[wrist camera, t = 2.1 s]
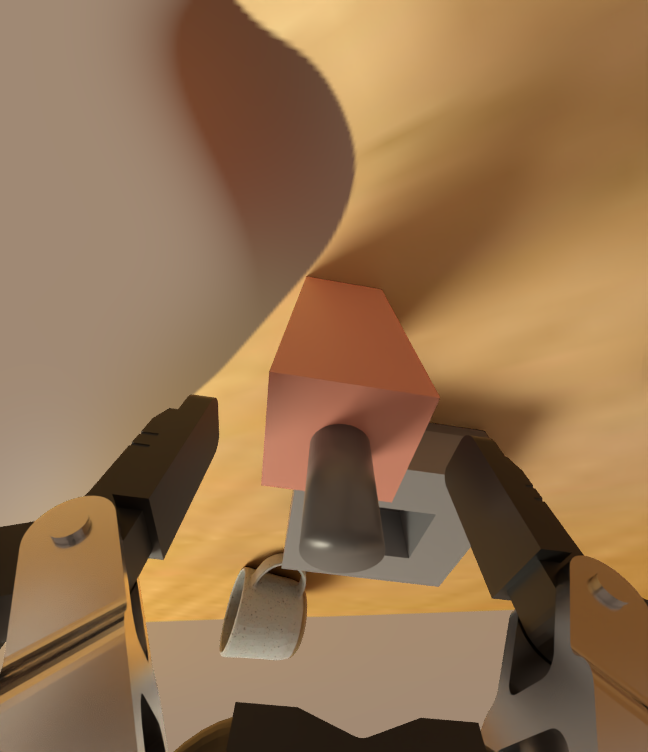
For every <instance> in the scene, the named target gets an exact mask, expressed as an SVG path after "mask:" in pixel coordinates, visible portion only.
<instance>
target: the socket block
mask: <svg viewBox="0 0 648 752" xmlns="http://www.w3.org/2000/svg"><path fill="white" fill-rule="evenodd" d="M466 435H470V436H477V437H484V438H489V437H488V435H487V434H486V432H485V431H481V430H474V429H467V428H461V427H454V426H447V425H441V424H434V423H428V425H427V428H426V430H425V432H424V434H423V436H422V438H421V441H420V443H419V445H418V447H417V449H416V451H415V454H414V456H413V458H412V460H411V462H410V464H409V466H408V469H407V471H406V473H405V475H404V477H403V479H402V482H401V484H400V486H399V488H398V490H397V492H396V495H395V497H394V499H393V501H392V503H391V502H384V501H378V503H379V510H380V516H381V523H382V530H383V537H384V544H385V555H384V558H383V559H382V560H381V561H380V562H379V563H378V564H377V565H375V566H374V567H372V568H370V569H367V570H364V571H360V572H355V573H332V572H327V571H323V570H320V569H317V568H315V567H313V566H311V565H309V564H308V563H306V562H305V561H304V560H303V559H302V557H301V556H300V553H299V544H300V534H301V525H302V515H303V506H304V496H305V491H301V490H293V495H292V501H291V507H290V513H289V520H288V527H287V534H286V540H285V547H284V554H283V561H282V569H290V570H299V571H307V572H316V573H325V574H333V575H342V576H351V577H359V578H368V579H376V580H385V581H394V582H402V583H411V584H419V585H428V586H437V587H439V586H440V584H441V583H442V582H443V581H444V579H445V578H446V577H447V576H448V574H449V573H450V572H451V571H452V569H453V568H454V567H455V566H456V565H457V563H458V562H459V561H460V560H461V558H462V557H463V556H464V555H465V553H466V552H467V551H468V550H469V548H470V547H471V546H470V543H469V541H468V538H467V536H466V534H465V531H464V529H463V526H462V524H461V521H460V519H459V516H458V514H457V512H456V509H455V507H454V504H453V502H452V499H451V497H450V495H449V492H448V490H447V487H446V484H445V470H446V467H447V465H448V463H449V461H450V459H451V457H452V456H453V454H454V452H455V450H456V448H457V446H458V445H459V443H460V441H461V439H462V438H463V437H464V436H466Z"/></svg>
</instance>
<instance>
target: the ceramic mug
mask: <svg viewBox="0 0 648 752" xmlns="http://www.w3.org/2000/svg"><path fill="white" fill-rule="evenodd" d="M283 554H284V553H279V554H275V555H272V556H270V557H268V558H267V559H265V560H264V561H263V562H262V563H261V564H260V566H259V567H258V568H257V569H252V568H249V567H244V568H243V569H242V570H241V571H240V573H239V575H238V577H237V579H236V582H235V584H234V587H233V589H232V592H231V595H230V599H229V603H228V606H227V610H226V614H225V618H224V623H223V628H222V633H221V638H220V648H219V649H220V654H221V655H222V656H224V657H242V658H257V659H269V660H282V659H287V658H291V657H292V656H293V655H294V654H295V653H296V651H297V650H298V648H299V646H300V644H301V641H302V637H303V634H304V630H305V625H306V617H307V598H306V592H305V586H306V572H305V571H299V570H298V571H299V573H300V574H301V579H300V582H296V581H294V580H292V579H289V578H286V577H281V576H277V575H273V574H270V573H267V572H268V571H269V570H271V569H272V568H275V567H277V566H281V565H282V561H283Z"/></svg>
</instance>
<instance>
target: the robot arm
mask: <svg viewBox="0 0 648 752" xmlns="http://www.w3.org/2000/svg"><path fill="white" fill-rule="evenodd" d="M218 440H219V420H218V401H217V399H216V398H213V397H206V396H199V395H189V396H188V397H187V399H186V400H185V401H184V402H183V404H182V405H181V406H180V408H179V409H171V408H169V409H167V410H166V411H164V412H162V413H161V414H159V415H157V416H156V417H154V418H153V419H152V420H151V421H150V422H149V423H148V424H147V425H146V427H145V428H144V429H143V430H142V432H141V434H139V435H138V436H137V437H136V438H135V439H134V440H133V442H132V444H131V445H130V446H128V447H127V449H126V450H125V451H124V452H123V453H122V454H121V455H120V457H119V458H118V459H117V460H116V461H115V462H114V463H113V465H112V466H111V467H110V468H109V469H108V470H107V471H106V473H105V474H104V475H103V476H102V477H101V479H100V480H99V481H98V482H97V483H96V484H95V485H94V486H93V488H92V489H91V490H90V491H89V492H88V493H87V494H86V495H85V496H83V497H78V498H75V499H71V500H68V501H66V502H63V503H61V504H59V505H57V506H55V507H54V508H52V509H50V510H49V511H47V512H46V513H44V514H43V515H42V516H40V517H39V518H38V519H37V520H36V521H34V522H29V523H22V524H16V525H10V526H4V527H0V649H1V647H2V646H3V644H4V643H5V642H6V648H5V654H4V662H3V666H2V669H1V672H0V752H169V751H168V745H167V739H166V733H165V727H164V720H163V714H162V708H161V702H160V697H159V692H158V687H157V683H156V679H155V675H154V670H153V665H152V660H151V654H150V647H149V641H148V634H147V629H146V622H145V615H144V609H143V602H142V596H141V590H140V583H139V578H138V576H139V574H140V573H141V571H142V569H143V567H144V565H145V563H146V561H147V559H148V558H151V559H160V560H164V558H165V556H166V553H167V551H168V549H169V547H170V545H171V543H172V541H173V539H174V537H175V535H176V533H177V531H178V529H179V527H180V525H181V523H182V521H183V518H184V516H185V514H186V512H187V510H188V508H189V506H190V504H191V502H192V500H193V498H194V496H195V494H196V492H197V490H198V488H199V486H200V483H201V481H202V479H203V477H204V475H205V473H206V471H207V469H208V467H209V465H210V463H211V461H212V459H213V457H214V455H215V452H216V449H217V446H218ZM445 484H446V487H447V490H448V492H449V495H450V497H451V499H452V502H453V504H454V507H455V509H456V512H457V514H458V516H459V519H460V521H461V524H462V526H463V529H464V531H465V534H466V536H467V538H468V541H469V543H470V546H471V548H472V551H473V553H474V555H475V558H476V560H477V563H478V565H479V568H480V570H481V573H482V575H483V577H484V580H485V582H486V585H487V587H488V590H489V592H490V594H491V597H492V598H494V599H503V600H511V601H512V603H513V605H514V608H515V610H514V611H513V612H512V613H511V615H510V618H509V624H508V630H507V637H506V643H505V649H504V655H503V662H502V668H501V675H500V680H499V687H498V692H497V696H496V698H495V701H494V703H493V706H492V707H491V709H490V710H489V712H488V714H487V716H486V718H485V720H484V723H483V726H482V729H481V731H480V727H479V724H478V723H475V722H463V721H451V720H439V719H428V718H427V719H426V718H419V719H417V720H414V721H411V722H408V723H406V724H403V725H401V726H398V727H395V728H392V729H389V730H387V731H384V732H382V733H379V734H376V735H373V736H371V737H368V738H358V737H355V736H353V735H351V734H349V733H347V732H345V731H343V730H341V729H339V728H337V727H335V726H333V725H331V724H329V723H327V722H325V721H323V720H321V719H319V718H317V717H315V716H314V715H311V714H310V713H308V712H306V711H304V710H302V709H300V708H298V707H287V706H276V705H264V704H251V703H240V702H236V703H235V708H234V713H233V717H231V718H228V719H225V720H222V721H219V722H217V723H215V724H213V725H211V726H209V727H207V728H205V729H203V730H202V731H200V732H199V733H197V734H196V735H194V736H193V737H192V738H190V739H189V740H187V741H186V742H184V743H183V744H182V745H181V746H180V747H179V748H178V749H176V750H175V751H174V752H648V600H646V599H644V598H642V597H641V596H640V594H639V593H638V592H637V591H636V590H635V588H634V587H633V586H632V585H631V584H630V583H629V582H628V581H627V580H626V579H625V578H623V577H622V576H621V575H620V574H619V573H617V572H616V571H615V570H613V569H612V568H611V567H609V566H607V565H606V564H604V563H602V562H600V561H599V560H596V559H594V558H591V557H588V556H584V555H583V554H582V552H581V551H580V549H579V548H578V547H577V545H576V544H575V543H574V541H573V540H572V538H571V537H570V536H569V534H568V533H567V532H566V530H565V529H564V527H563V526H562V525H561V523H560V522H559V521H558V519H557V518H556V516H555V515H554V514H553V512H552V511H551V510H550V508H549V507H548V505H547V504H546V503H545V502H543V501H542V497H541V496H540V494H539V493H538V492H537V490H536V489H534V488H533V485H532V483H531V482H530V481H529V479H528V478H527V477H526V475H525V474H524V472H523V471H522V470H521V469H520V468H519V467H518V466H516V465H515V464H514V463H513V462H512V461H511V460H510V459H509V458H507V457H505V456H504V454H503V453H502V451H501V450H500V449H499V447H498V446H497V444H496V443H495V442H494V441H493V440H492V439H490V438H484V437H477V436H470V435H466V436H464V437H463V438H462V439H461V441H460V443H459V445H458V446H457V448H456V450H455V452H454V454H453V456H452V457H451V459H450V461H449V463H448V465H447V467H446V470H445Z"/></svg>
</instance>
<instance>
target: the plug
mask: <svg viewBox="0 0 648 752" xmlns="http://www.w3.org/2000/svg"><path fill="white" fill-rule="evenodd" d="M439 400H440V397H439V395H438V393H437V391H436V389H435V387H434V385H433V384H432V382H431V380H430V378H429V376H428V374H427V372H426V371H425V369H424V367H423V365H422V363H421V361H420V360H419V358H418V356H417V354H416V352H415V350H414V348H413V347H412V345H411V343H410V341H409V339H408V337H407V335H406V334H405V332H404V330H403V328H402V326H401V324H400V322H399V321H398V319H397V317H396V315H395V313H394V311H393V309H392V308H391V306H390V304H389V302H388V300H387V298H386V296H385V295H384V293H383V291H382V289H376V288H371V287H365V286H359V285H354V284H348V283H342V282H336V281H331V280H325V279H319V278H313V277H308V276H306V279H305V282H304V284H303V287H302V289H301V292H300V294H299V297H298V300H297V302H296V305H295V307H294V310H293V312H292V315H291V317H290V320H289V323H288V325H287V328H286V330H285V333H284V335H283V338H282V340H281V343H280V346H279V348H278V351H277V353H276V356H275V358H274V361H273V364H272V366H271V369H270V371H269V384H268V398H267V412H266V426H265V441H264V455H263V469H262V483H261V485H263V486H271V487H278V488H286V489H293V490H301V491H305V496H304V506H303V515H302V525H301V534H300V544H299V553H300V556H301V557H302V559H303V560H304V561H305V562H306V563H308V564H309V565H311V566H313V567H315V568H317V569H320V570H323V571H327V572H332V573H355V572H360V571H364V570H367V569H370V568H372V567H374V566H375V565H377V564H378V563H379V562H380V561H381V560H382V559H383V558H384V555H385V544H384V537H383V530H382V523H381V516H380V510H379V503H378V501H384V502H391V503H392V501H393V499H394V497H395V495H396V492H397V490H398V488H399V486H400V484H401V482H402V479H403V477H404V475H405V473H406V471H407V469H408V466H409V464H410V462H411V460H412V458H413V456H414V454H415V451H416V449H417V447H418V445H419V443H420V441H421V438H422V436H423V434H424V432H425V430H426V428H427V425H428V423H429V421H430V419H431V417H432V415H433V412H434V410H435V408H436V406H437V404H438V402H439Z"/></svg>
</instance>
